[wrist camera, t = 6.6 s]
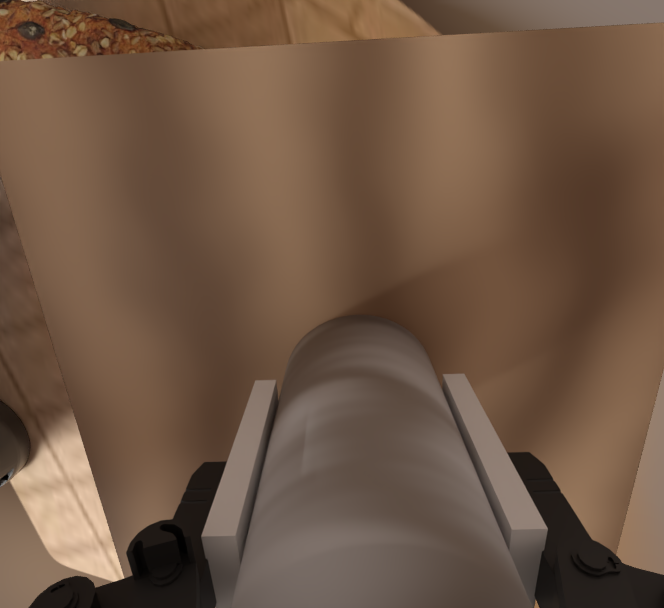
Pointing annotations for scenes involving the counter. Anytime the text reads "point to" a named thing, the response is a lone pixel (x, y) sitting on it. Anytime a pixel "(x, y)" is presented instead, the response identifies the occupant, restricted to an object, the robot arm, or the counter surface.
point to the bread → (72, 34)
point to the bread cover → (352, 286)
